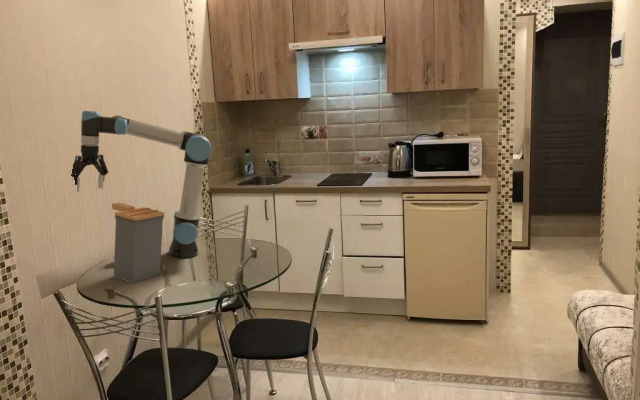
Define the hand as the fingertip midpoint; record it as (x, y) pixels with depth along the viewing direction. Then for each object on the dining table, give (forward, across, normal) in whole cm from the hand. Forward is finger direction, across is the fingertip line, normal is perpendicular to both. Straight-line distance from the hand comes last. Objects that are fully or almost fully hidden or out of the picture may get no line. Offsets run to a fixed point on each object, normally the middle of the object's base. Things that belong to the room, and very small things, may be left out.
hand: (88, 189), depth 239 cm
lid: (+6, 0, +27) cm, 28 cm away
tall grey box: (+34, 0, +32) cm, 47 cm away
